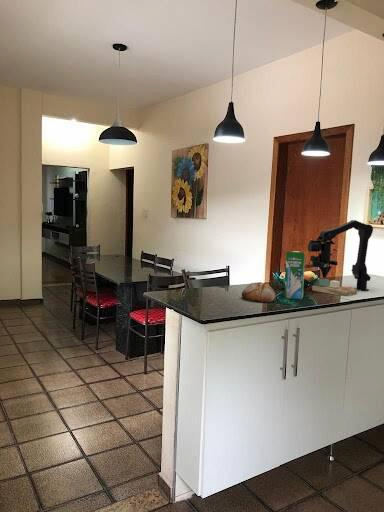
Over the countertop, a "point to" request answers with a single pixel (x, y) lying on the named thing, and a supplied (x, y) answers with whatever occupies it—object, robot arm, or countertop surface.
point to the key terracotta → (345, 288)
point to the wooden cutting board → (334, 290)
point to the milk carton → (294, 275)
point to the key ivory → (335, 284)
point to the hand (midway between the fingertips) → (324, 277)
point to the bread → (258, 292)
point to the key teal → (323, 282)
